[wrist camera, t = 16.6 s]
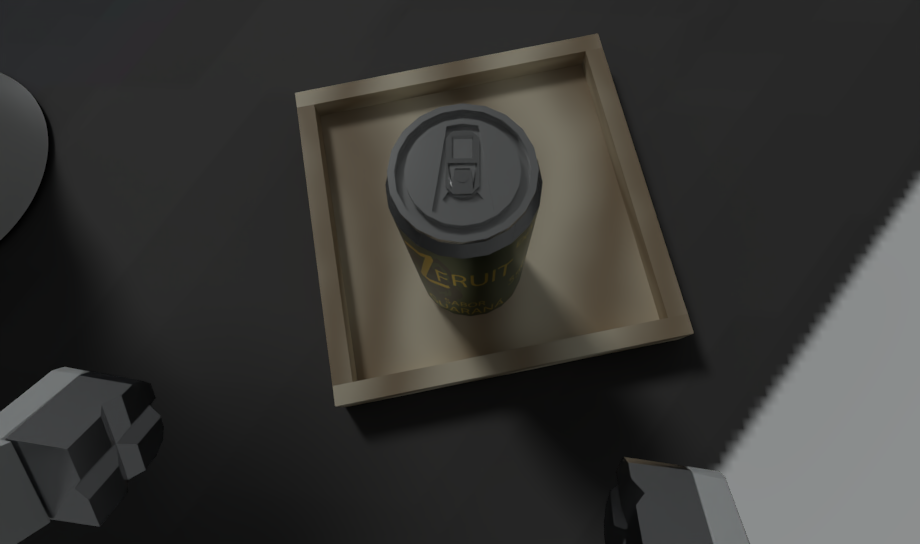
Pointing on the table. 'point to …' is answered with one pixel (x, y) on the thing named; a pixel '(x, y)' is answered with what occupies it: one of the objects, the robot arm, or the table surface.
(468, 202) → the beer can
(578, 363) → the table surface
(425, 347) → the birch tray
